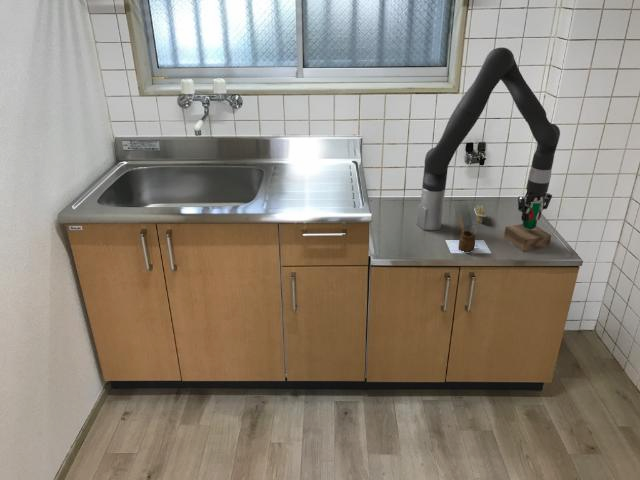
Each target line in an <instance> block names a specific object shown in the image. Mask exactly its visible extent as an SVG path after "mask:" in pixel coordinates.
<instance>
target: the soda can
mask: <svg viewBox="0 0 640 480" xmlns="http://www.w3.org/2000/svg"><path fill="white" fill-rule="evenodd" d="M527 204H528V205H530V204H531V203H528V202H527ZM540 207H541V201H540V200H538V199H537V201H536V202H534V203H533V206H532V208H531V209H530V211H529V212H528V213H529V214H528V219H527V222H524V221H522V225H523V227H525V228H527V229H534V228H535V227H536V226H537V225H538V221H539V220H538V216H539V211H540ZM526 209H527V207H526Z"/></svg>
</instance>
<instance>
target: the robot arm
mask: <svg viewBox="0 0 640 480" xmlns="http://www.w3.org/2000/svg"><path fill="white" fill-rule="evenodd" d="M500 82H502V83H503V84H504V86H505V88H507V90H508V92H509V94H510V95H511V98H512V100H513V102H514V104H515V105H516V107H517V109H518V111H519V112H520V114H521V116H522V118H523V119H524V120H525V122H526V124H527V125H528V126H529V130H530V131H531V134H532V137H533V138H534V140H535V141H536V143H537V145H536V150H535V152H534V153H533V157H532V161H531V166H530V169H529V172H528V178H527V183H526V186H525V187H526V193H525V195H524V196H520V195H519V196H518V197H517V207H518V208H517V209H518V211H520V212H521V216H520V218H521V221H522V222H523V221H524V222H527V219H528V214H529V213H528V212H529V211H530V209H531V208H532V206H533V203H534V202H536V201H537V199H538V200H540V201H541V207H540V211H539V216H538V220H537V221H539V220H540V219H541V217H542V212H543V211H544V210H547V209H548V207H549V205H550V202H551V200H552V198H553V194H551V193H549V192H548V190H549V187H550V182H551V178H552V169H553V165H554V161H555V160H554V158H555V153H556V150H557V147H558V144H559V140H560V137H561V130H560V128H559V127H558V125H557V124H554V123H551V122H550V121H549V119H548V116H547V112H546V109H545V108H544V106H543V105H542V103H541V101H540V100H539V99H538V97H537V95H535V93H534V92H533V90H532V89H531V87H530V85H529V84H528V83H527V81H526V80H525V78H524V77H523V74H522V73H521V71H520V69H519V67H518V64H517V62H516V59H515V57H514V53H513V52H512V50H510V49H509V48H506V47H497V48H494V49H492V50H490V52H489V53H488V54H487V55H486V58H485V59H484V62H483V63H482V66H481V68H480V70H479V72H478V73H477V75H476V78H475V80H474V81H473V83H472V84H471V85H470V87H469V88H468V89H467V91H466V92H465V93H464V95H463V96H462V98H461V100H459V102H458V103H457V104H456V107H455V108H454V110H453V112H452V114H451V115H450V117H449V119H448V121H447V123H446V126H445V129H444V130H443V133H442V135H441V137H440V139H439V141H438V142H437V144H436V145H435V146H434V147H433V148H431V149H429V150H428V151H427V152H426V154H425V158H424V167H423V177H422V188H421V196H420V203H418V207H417V214H416V215H417V216H416V217H417V218H416V225H417V226H418V227H419V228H420V229H422V230H423V231H437V230H439V229H441V226H442V219H443V211H444V202H445V194H446V188H447V187H446V186H447V178H448V169H449V165H450V163H451V161H452V159H453V157H454V155H455V153H456V152H457V150H458V148H459V147H460V146H461V144H462V143H463V142H464V140H465V139H466V138H467V136H468V134H469V133H470V131H471V130H472V129H473V127H474V126H475V125H476V123H477V121H478V120H479V119H480V117H481V115H482V114H483V112H484V110H485V107H486V105H487V103H488V101H489V99H490V97H491V94H492V93H493V92H494V89H495V88H496V86H497V85H498V83H500ZM527 202H528V203H531V204H530V205H528V204H527ZM526 207H527V209H526Z"/></svg>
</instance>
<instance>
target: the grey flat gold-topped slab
mask: <svg viewBox="0 0 640 480" xmlns="http://www.w3.org/2000/svg"><path fill="white" fill-rule="evenodd" d="M473 210H474V213H475V215H476V223H480V224H481V225H482V224H483V221H484V220H483V219H484V217H487V213H486V211H485V208H484V206H483V205H482V204H481V205H478V204H477V205H476V206H474V208H473Z"/></svg>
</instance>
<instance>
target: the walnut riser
mask: <svg viewBox="0 0 640 480" xmlns="http://www.w3.org/2000/svg"><path fill="white" fill-rule="evenodd" d="M522 224H523V223H522ZM522 224H514V225H508V226H505V227H504V228H505V229H504V234H503V239H504V238H505V239H504V240H505V241H508V242H509V243H510V244H511V243H512V245H513V246H514V247H516V248H517V249H518V250H520V252H521V251H522V252H527V251H533V250H534V251H535V250H540V249H545V248H549V247H550V243H551V238H552V235H551V234H550V233H548V232H546V231H545V230H544V229H542V228H541V227H539V226H537V225H536V227H535V228H534V229H527V228H525V227H523V225H522Z"/></svg>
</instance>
